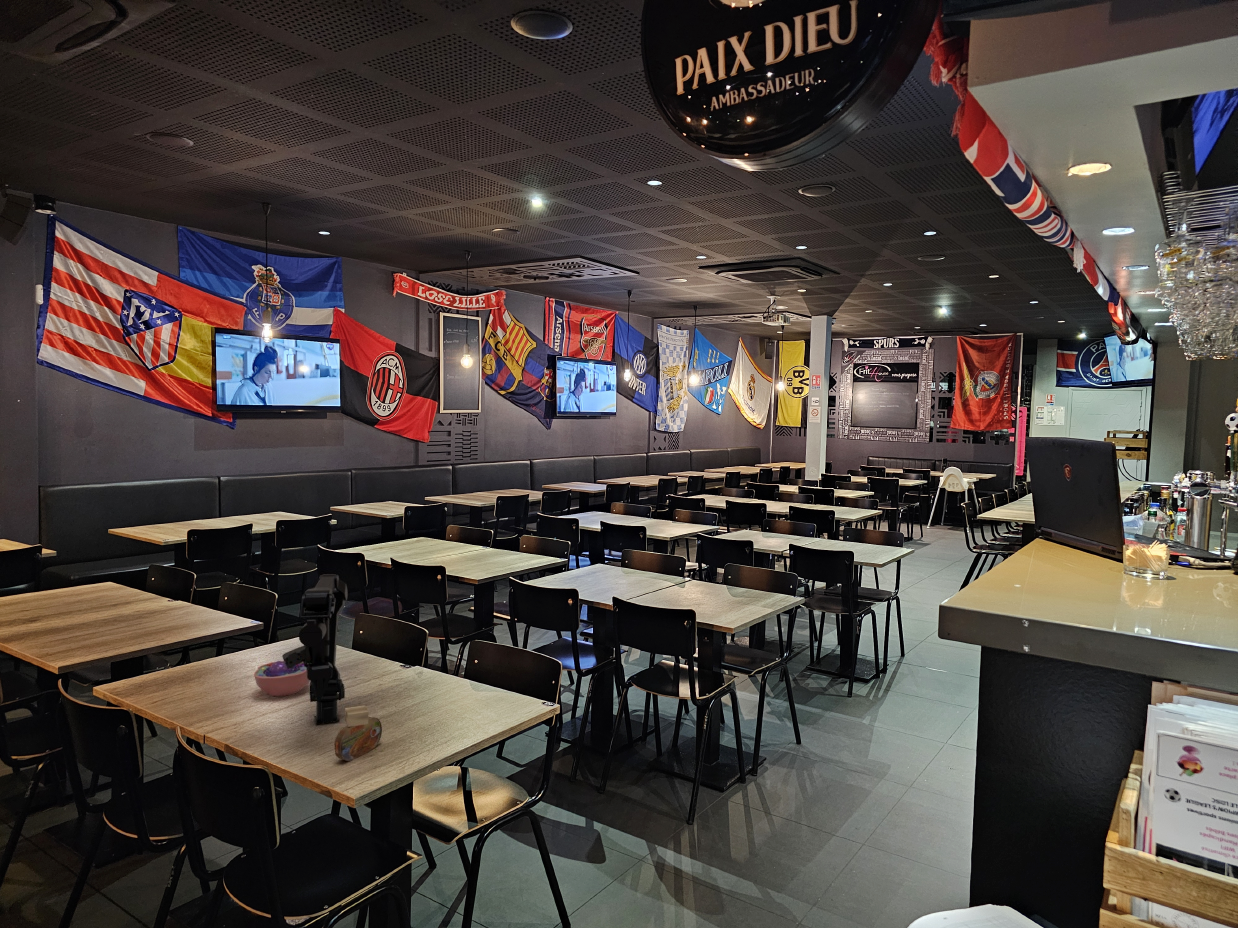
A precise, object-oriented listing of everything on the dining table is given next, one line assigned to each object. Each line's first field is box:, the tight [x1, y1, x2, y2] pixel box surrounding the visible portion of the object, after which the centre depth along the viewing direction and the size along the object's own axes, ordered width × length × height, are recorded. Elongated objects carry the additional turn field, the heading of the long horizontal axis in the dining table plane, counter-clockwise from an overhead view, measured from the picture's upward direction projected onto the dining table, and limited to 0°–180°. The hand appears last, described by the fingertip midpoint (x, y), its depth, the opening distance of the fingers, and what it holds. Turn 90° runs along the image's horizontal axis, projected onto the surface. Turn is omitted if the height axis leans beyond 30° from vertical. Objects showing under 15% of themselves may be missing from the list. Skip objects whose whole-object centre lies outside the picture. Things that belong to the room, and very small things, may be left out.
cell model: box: [253, 660, 310, 698], centre depth 237 cm, size 17×20×11 cm
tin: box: [334, 716, 383, 762], centre depth 192 cm, size 15×3×8 cm, turn 157°
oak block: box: [344, 704, 369, 727], centre depth 192 cm, size 5×5×3 cm
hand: (317, 694), depth 198 cm, fingers open, 9 cm apart
